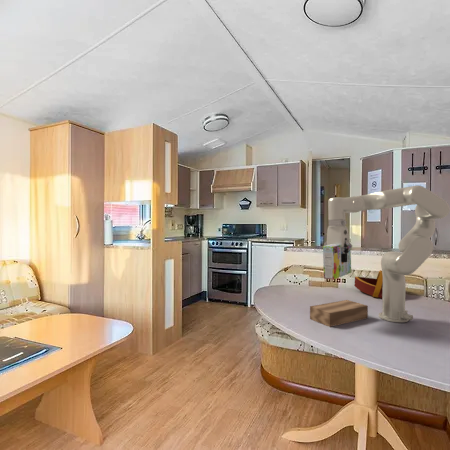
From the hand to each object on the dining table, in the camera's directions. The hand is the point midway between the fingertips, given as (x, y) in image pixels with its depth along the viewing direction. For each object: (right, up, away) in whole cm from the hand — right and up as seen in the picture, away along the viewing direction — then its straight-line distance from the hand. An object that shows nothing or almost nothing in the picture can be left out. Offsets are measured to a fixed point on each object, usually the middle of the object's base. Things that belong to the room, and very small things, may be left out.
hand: (337, 261), depth 146 cm
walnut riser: (+1, -27, 0) cm, 27 cm away
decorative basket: (+45, -27, +51) cm, 73 cm away
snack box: (0, -7, 0) cm, 7 cm away
